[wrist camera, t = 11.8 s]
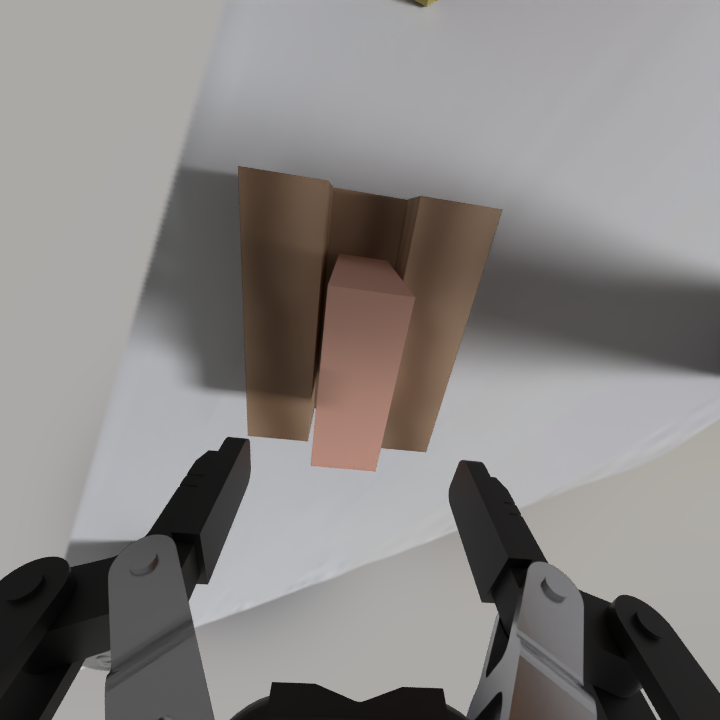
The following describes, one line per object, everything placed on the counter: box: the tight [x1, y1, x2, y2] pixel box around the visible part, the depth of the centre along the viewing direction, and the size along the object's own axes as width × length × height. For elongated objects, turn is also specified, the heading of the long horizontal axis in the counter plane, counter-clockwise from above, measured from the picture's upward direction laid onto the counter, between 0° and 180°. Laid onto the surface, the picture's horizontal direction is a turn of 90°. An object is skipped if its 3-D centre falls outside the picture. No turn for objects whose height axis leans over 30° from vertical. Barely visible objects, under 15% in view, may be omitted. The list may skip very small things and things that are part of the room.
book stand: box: [238, 166, 503, 452], centre depth 25 cm, size 16×20×6 cm
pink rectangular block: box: [311, 254, 415, 471], centre depth 21 cm, size 4×11×12 cm, turn 172°
